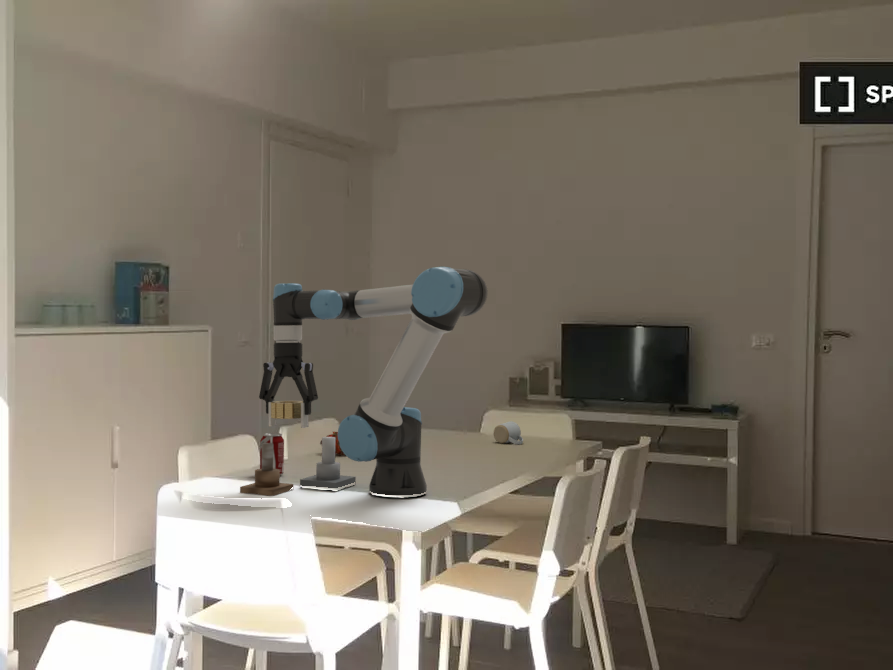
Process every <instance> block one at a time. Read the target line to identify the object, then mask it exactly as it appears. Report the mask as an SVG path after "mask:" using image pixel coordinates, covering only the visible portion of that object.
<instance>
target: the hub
mask: <svg viewBox="0 0 893 670" xmlns="http://www.w3.org/2000/svg"><path fill="white" fill-rule="evenodd" d="M321 440H322V445H321V461H318V462H316V464H315V466H316V473H315V474H313V475H311V476H308V477H304V478H300V479H299V486H300V485H302V486H316V487H328V488H338V487H342V486H345V485H348V484H351V483H354V482H355V483H356V481H357V480H356V479H357V476H351V475H341V463H340V462H338V461H336V454H335V437H326V436H323V437H321Z"/></svg>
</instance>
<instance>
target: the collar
mask: <svg viewBox="0 0 893 670" xmlns="http://www.w3.org/2000/svg"><path fill="white" fill-rule="evenodd" d="M301 403H303V400H278V401H275V400H274V402H271V418H276V420H278V419H281V420H290V419H294V420H295V419H301Z"/></svg>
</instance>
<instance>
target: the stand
mask: <svg viewBox="0 0 893 670" xmlns="http://www.w3.org/2000/svg"><path fill="white" fill-rule="evenodd" d="M280 477H281V476H280V470H279V469H273V443H263V444H262V469H260V468H258V469H255V470H254V482H253V483H250V484H245V485H242V486H241V485H240V486H239V493H241V494H248V495H249V494H253V495H259V496H261V495H262V496H269V497H273V496H277V495H278V496H279V495H281V494H283V493H284V494H285V493H287V492H290V491H289V490H290V489H291V488H292V487H293V488H294V484H293V483H286V482H280Z"/></svg>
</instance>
